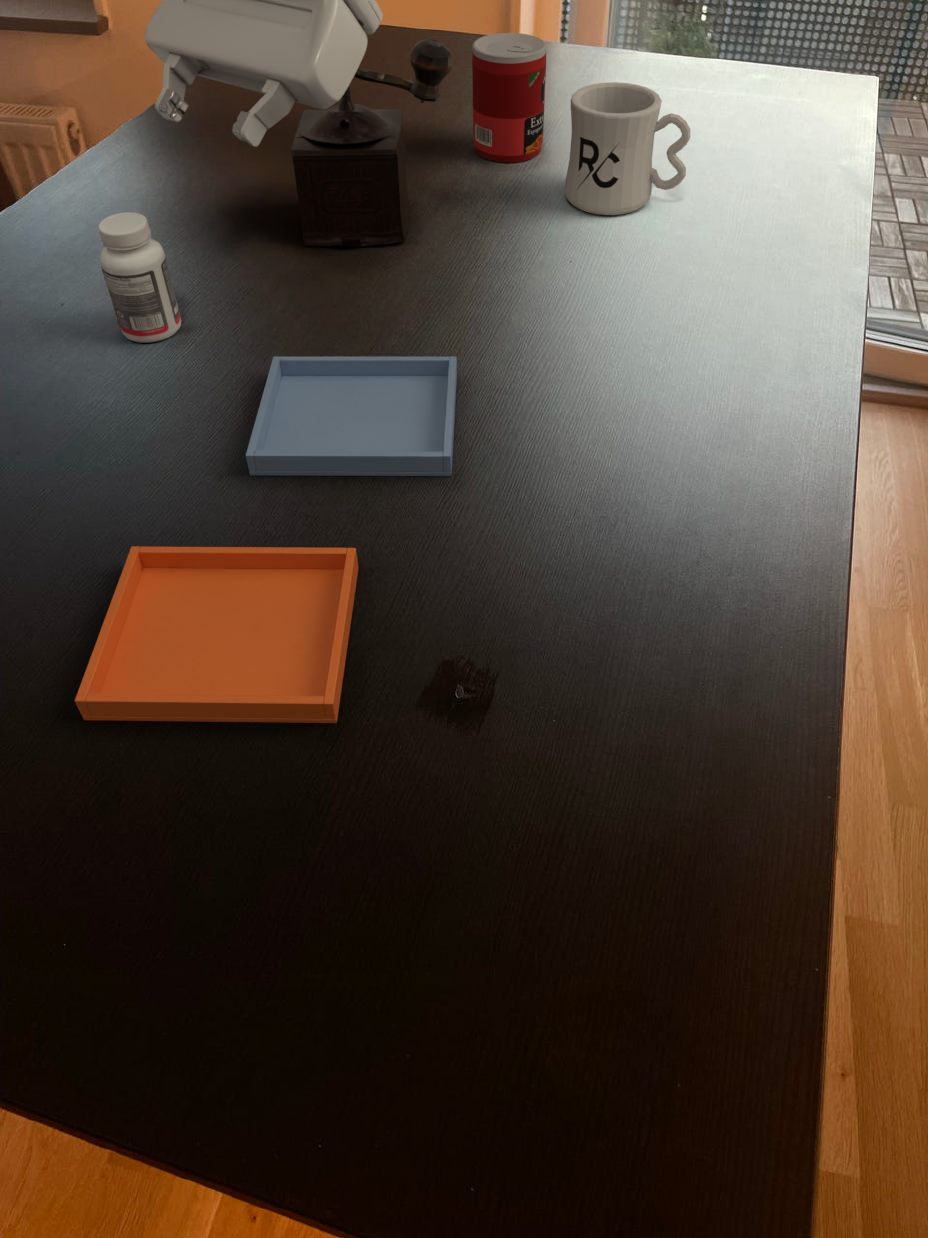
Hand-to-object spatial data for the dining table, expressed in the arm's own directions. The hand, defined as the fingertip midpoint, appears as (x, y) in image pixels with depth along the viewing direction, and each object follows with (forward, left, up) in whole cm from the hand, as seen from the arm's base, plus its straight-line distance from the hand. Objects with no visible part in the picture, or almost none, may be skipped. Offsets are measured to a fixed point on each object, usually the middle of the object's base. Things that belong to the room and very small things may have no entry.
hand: (203, 127), depth 79 cm
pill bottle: (-8, -3, -16) cm, 18 cm away
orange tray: (+6, -40, -16) cm, 43 cm away
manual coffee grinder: (+11, +17, -16) cm, 27 cm away
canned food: (+24, +35, -16) cm, 46 cm away
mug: (+36, +22, -16) cm, 46 cm away
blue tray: (+12, -17, -16) cm, 26 cm away
